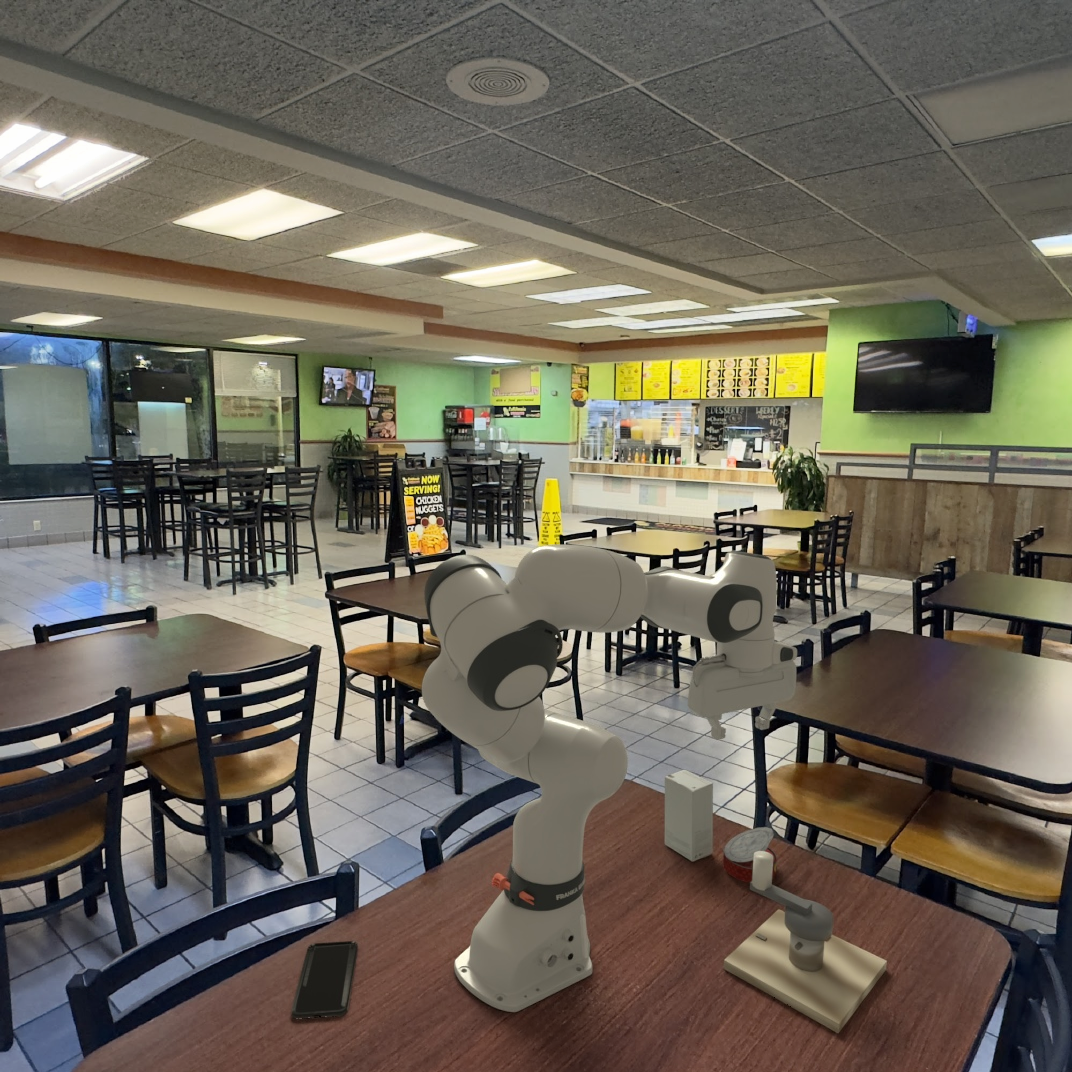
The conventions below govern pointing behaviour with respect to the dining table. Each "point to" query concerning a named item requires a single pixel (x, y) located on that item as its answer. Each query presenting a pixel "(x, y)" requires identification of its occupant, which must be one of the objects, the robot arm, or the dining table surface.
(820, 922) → the white knob lever
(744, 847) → the canned food
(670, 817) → the skincare box
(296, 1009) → the phone
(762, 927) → the mount board
